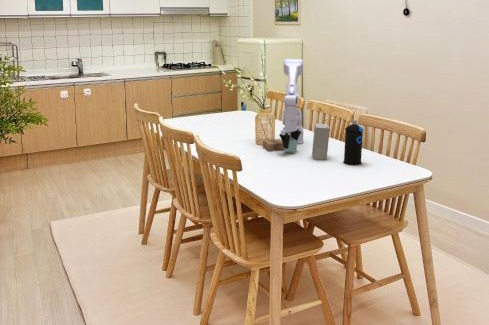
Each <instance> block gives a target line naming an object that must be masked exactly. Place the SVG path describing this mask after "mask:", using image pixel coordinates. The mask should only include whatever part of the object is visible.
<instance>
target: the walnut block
mask: <svg viewBox="0 0 489 325" xmlns="http://www.w3.org/2000/svg"><path fill="white" fill-rule="evenodd" d="M262 148H263V149H264V150H266V151H267V152H270V153H271V152H280V151H281V152H282V151H286V150H285V149H284V147H283V142H282V139H281V138H278V139H264V140H262Z"/></svg>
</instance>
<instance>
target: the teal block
mask: <svg viewBox="0 0 489 325" xmlns="http://www.w3.org/2000/svg"><path fill="white" fill-rule="evenodd" d="M297 147H298V145H297V140H295V139H294V138H290V140H289V147H288V149H286V148H284V149H285V150H284V151H286V152H295V151H297V149H298V148H297Z"/></svg>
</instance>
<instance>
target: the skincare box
mask: <svg viewBox="0 0 489 325" xmlns="http://www.w3.org/2000/svg"><path fill="white" fill-rule="evenodd" d="M330 131H331V128H330V125H329V124H328V123H314V129H313V139H312V151H311V156H312V159H313V160H322V161H323V160H325V161H327V160H328V151H329V139H330Z"/></svg>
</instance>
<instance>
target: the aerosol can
mask: <svg viewBox="0 0 489 325" xmlns="http://www.w3.org/2000/svg"><path fill="white" fill-rule="evenodd" d="M344 130H345V133H344V134H345V135H344V136H345V137H344V150H343V151H344V154H343V161H342V163H343V164H345V165H347V166H359V164H360V165H361V164H362V155H363V154H362V152H363V136H364V130H365V129H364V128H363V127H362V126H361V125H359V124H358V119H352V123H351V124H349V125H348V126H346V127H345V129H344Z"/></svg>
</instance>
